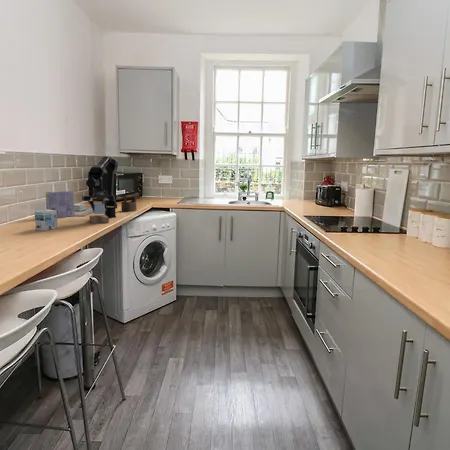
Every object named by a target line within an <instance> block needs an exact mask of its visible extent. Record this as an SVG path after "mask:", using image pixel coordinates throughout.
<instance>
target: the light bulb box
mask: <svg viewBox="0 0 450 450" xmlns="http://www.w3.org/2000/svg"><path fill="white" fill-rule="evenodd" d="M34 224H35V231H39V232H41V231H42V232H48V231H51V229H52V230H55V229H58V218H57V210H49V209H46V208H45V209H41V210H37V211H34Z"/></svg>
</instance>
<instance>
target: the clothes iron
mask: <svg viewBox="0 0 450 450" xmlns="http://www.w3.org/2000/svg"><path fill="white" fill-rule="evenodd" d="M139 197H140V193H139V192H135V193H133V194H127V195H124V196H123V201H121V209H120V211H121V212H128V213H129V212H135V211H137V199H138V198H139ZM130 198H131V201H127V199H130Z"/></svg>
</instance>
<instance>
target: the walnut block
mask: <svg viewBox="0 0 450 450" xmlns="http://www.w3.org/2000/svg"><path fill="white" fill-rule="evenodd" d="M88 217H89V222H90V223H91V224H92V225H94V224H108V223H109V222H110V220H109V219H110V218H109V217H108V216H106V215H105V214H94V215H88Z"/></svg>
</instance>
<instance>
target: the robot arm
mask: <svg viewBox="0 0 450 450" xmlns="http://www.w3.org/2000/svg"><path fill="white" fill-rule="evenodd" d="M118 167H119V163H118V161H117V159H113V158H112V157H110V156H103V157H102V159H101V160H100V161H99V162H98V164H95V165H93V166H91V168H90V169H89V173H88V179H86V182H85V183H86V186H87V188H90V189H92V192H93V193H92V196H90V195H88V194H87V195H82V196H81V200H82V201H84V202H87V203H89V205H90V208H91V209H92V212H93V211H94V204H93V203H94V201H95V200H98V201H99V200H101V203H103V204H105V214H104V215H106V216H108V217H109V219H110V218H117V215H116V209H118V203H117V201H116V197H115V195H114V185H115V183H114V182H115V173H116V172H117V170H118ZM105 171H106V186H105V190H104V188H103V187H104V185H103V179H104V178H103V176H104V174H105Z"/></svg>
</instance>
